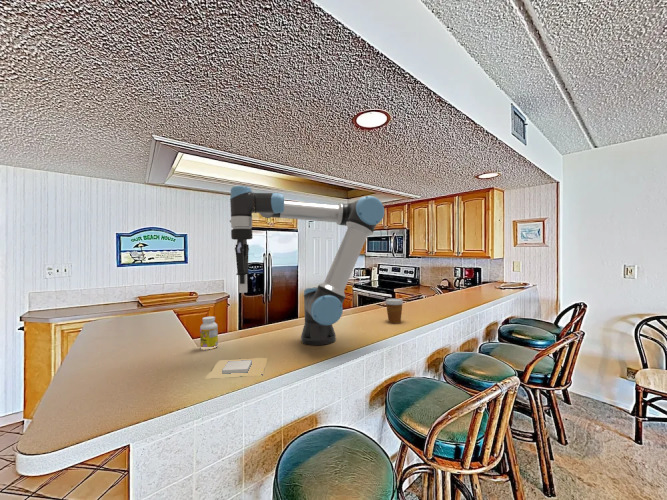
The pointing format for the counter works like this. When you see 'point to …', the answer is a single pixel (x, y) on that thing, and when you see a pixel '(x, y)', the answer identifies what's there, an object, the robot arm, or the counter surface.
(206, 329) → the supplement bottle
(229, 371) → the tile
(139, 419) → the counter surface
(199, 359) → the counter surface
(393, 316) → the disposable coffee cup
